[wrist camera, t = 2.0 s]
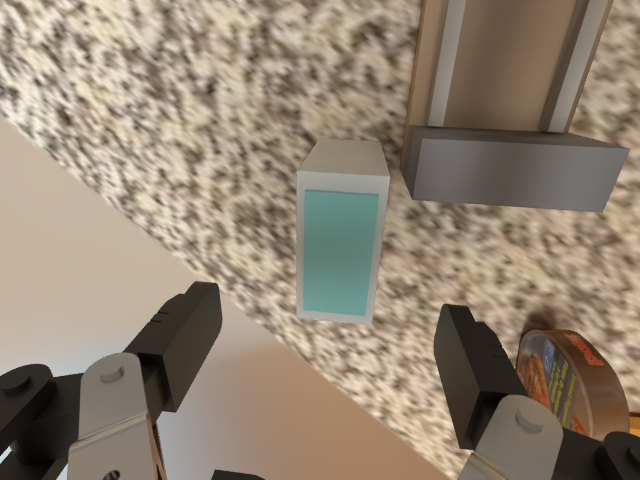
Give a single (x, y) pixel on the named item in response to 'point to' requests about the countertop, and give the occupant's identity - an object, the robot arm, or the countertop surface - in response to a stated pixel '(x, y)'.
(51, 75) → the countertop surface
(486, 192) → the rack
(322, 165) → the block
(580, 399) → the tin
